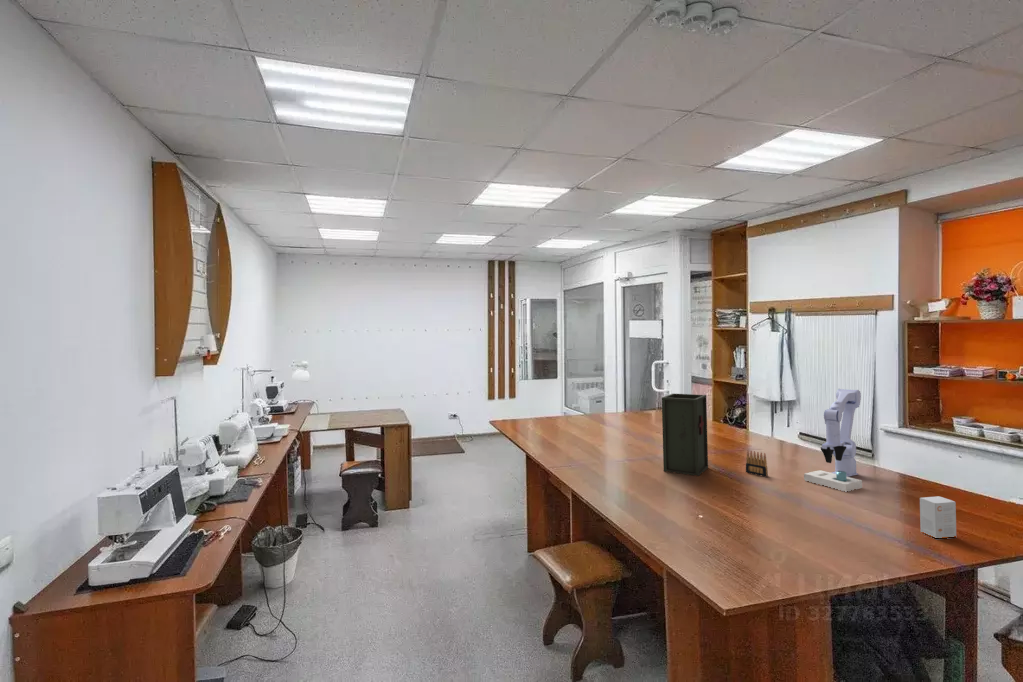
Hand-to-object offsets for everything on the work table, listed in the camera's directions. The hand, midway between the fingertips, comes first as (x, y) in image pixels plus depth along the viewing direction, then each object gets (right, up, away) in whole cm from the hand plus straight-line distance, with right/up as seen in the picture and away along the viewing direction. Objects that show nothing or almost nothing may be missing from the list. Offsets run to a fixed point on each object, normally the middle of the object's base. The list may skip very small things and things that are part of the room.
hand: (833, 461), depth 243 cm
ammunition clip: (-30, -10, +15) cm, 35 cm away
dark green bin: (-63, -11, +28) cm, 69 cm away
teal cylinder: (-2, -10, -9) cm, 13 cm away
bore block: (-4, -10, -5) cm, 12 cm away
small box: (-4, -11, -65) cm, 66 cm away
